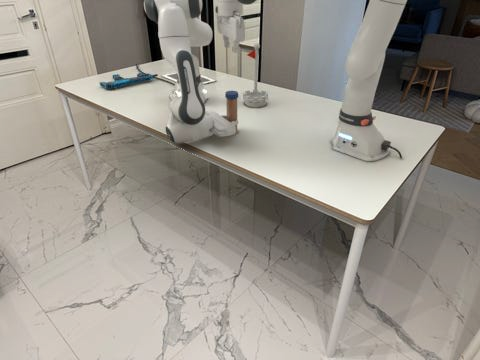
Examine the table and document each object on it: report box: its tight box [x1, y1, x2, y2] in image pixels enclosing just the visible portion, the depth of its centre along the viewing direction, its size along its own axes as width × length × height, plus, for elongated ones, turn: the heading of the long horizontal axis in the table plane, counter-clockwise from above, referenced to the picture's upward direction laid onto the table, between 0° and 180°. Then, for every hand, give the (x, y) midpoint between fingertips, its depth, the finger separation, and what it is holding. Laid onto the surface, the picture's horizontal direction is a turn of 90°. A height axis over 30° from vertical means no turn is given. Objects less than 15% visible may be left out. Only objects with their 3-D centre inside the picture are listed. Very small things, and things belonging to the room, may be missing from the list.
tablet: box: [161, 71, 217, 85], centre depth 215 cm, size 32×20×1 cm, turn 41°
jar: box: [225, 97, 238, 135], centre depth 144 cm, size 5×5×17 cm
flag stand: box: [242, 42, 269, 108], centre depth 170 cm, size 13×13×30 cm
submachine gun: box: [99, 72, 159, 90], centre depth 210 cm, size 34×4×25 cm
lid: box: [224, 90, 239, 99], centre depth 140 cm, size 5×5×2 cm
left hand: (233, 119), depth 146 cm, fingers closed on jar, 4 cm apart
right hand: (231, 49), depth 130 cm, fingers open, 7 cm apart
